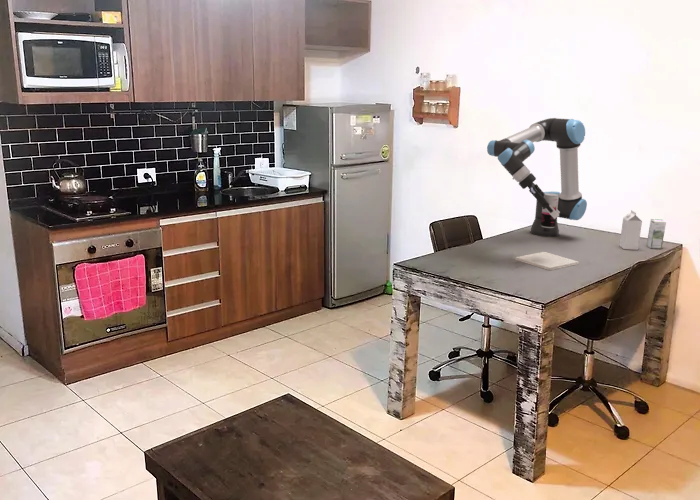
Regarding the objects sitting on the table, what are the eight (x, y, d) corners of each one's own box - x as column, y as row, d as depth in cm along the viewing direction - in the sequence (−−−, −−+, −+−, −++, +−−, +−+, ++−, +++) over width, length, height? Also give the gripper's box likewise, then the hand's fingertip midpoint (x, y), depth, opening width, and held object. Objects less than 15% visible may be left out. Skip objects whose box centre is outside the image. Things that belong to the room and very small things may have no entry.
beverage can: (555, 228, 294) (559, 196, 290) (540, 227, 295) (544, 195, 291) (554, 225, 300) (558, 193, 296) (539, 224, 301) (543, 192, 298)
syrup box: (657, 246, 334) (662, 218, 330) (662, 249, 328) (666, 221, 324) (646, 245, 334) (650, 218, 330) (650, 248, 329) (654, 220, 325)
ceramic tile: (515, 259, 303) (515, 257, 303) (543, 254, 314) (544, 251, 314) (549, 270, 287) (549, 267, 287) (578, 264, 298) (578, 261, 298)
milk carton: (633, 246, 332) (638, 210, 327) (638, 250, 325) (643, 213, 320) (619, 245, 333) (624, 209, 328) (623, 249, 326) (628, 212, 321)
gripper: (520, 180, 307) (551, 217, 305) (515, 185, 289) (549, 225, 288) (532, 169, 303) (564, 207, 302) (529, 175, 286) (563, 214, 285)
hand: (557, 215), depth 295 cm, fingers closed on beverage can, 6 cm apart
